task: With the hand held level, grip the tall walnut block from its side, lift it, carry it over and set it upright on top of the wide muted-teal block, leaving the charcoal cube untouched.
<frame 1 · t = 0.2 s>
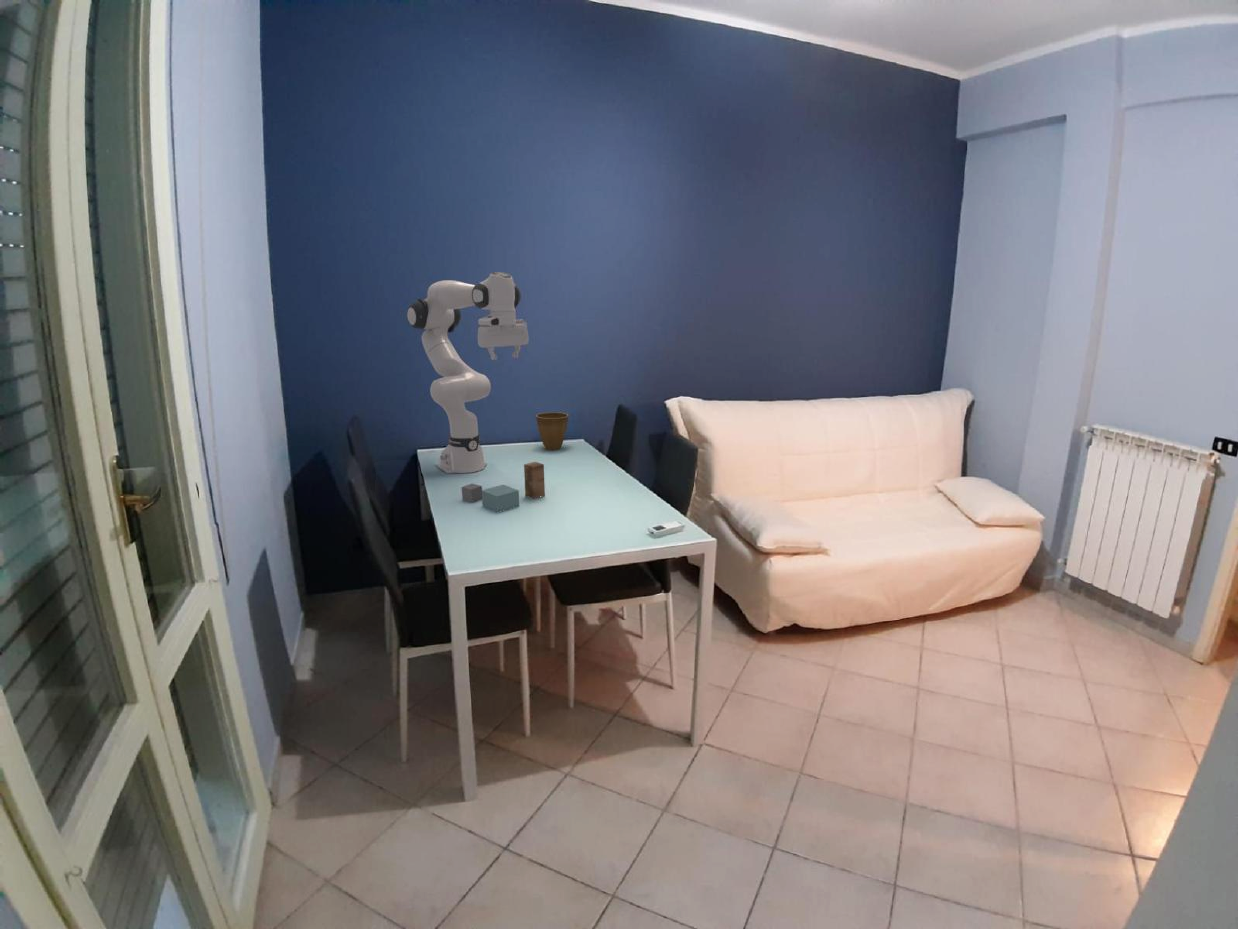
hand: (504, 358, 221), 48 cm above the table, tool pointing down, fingers open, 8 cm apart
plant pot: (553, 448, 288), on the table
teal base block: (501, 506, 212), on the table
charcoal cube: (472, 499, 218), on the table
walnut block: (535, 496, 222), on the table
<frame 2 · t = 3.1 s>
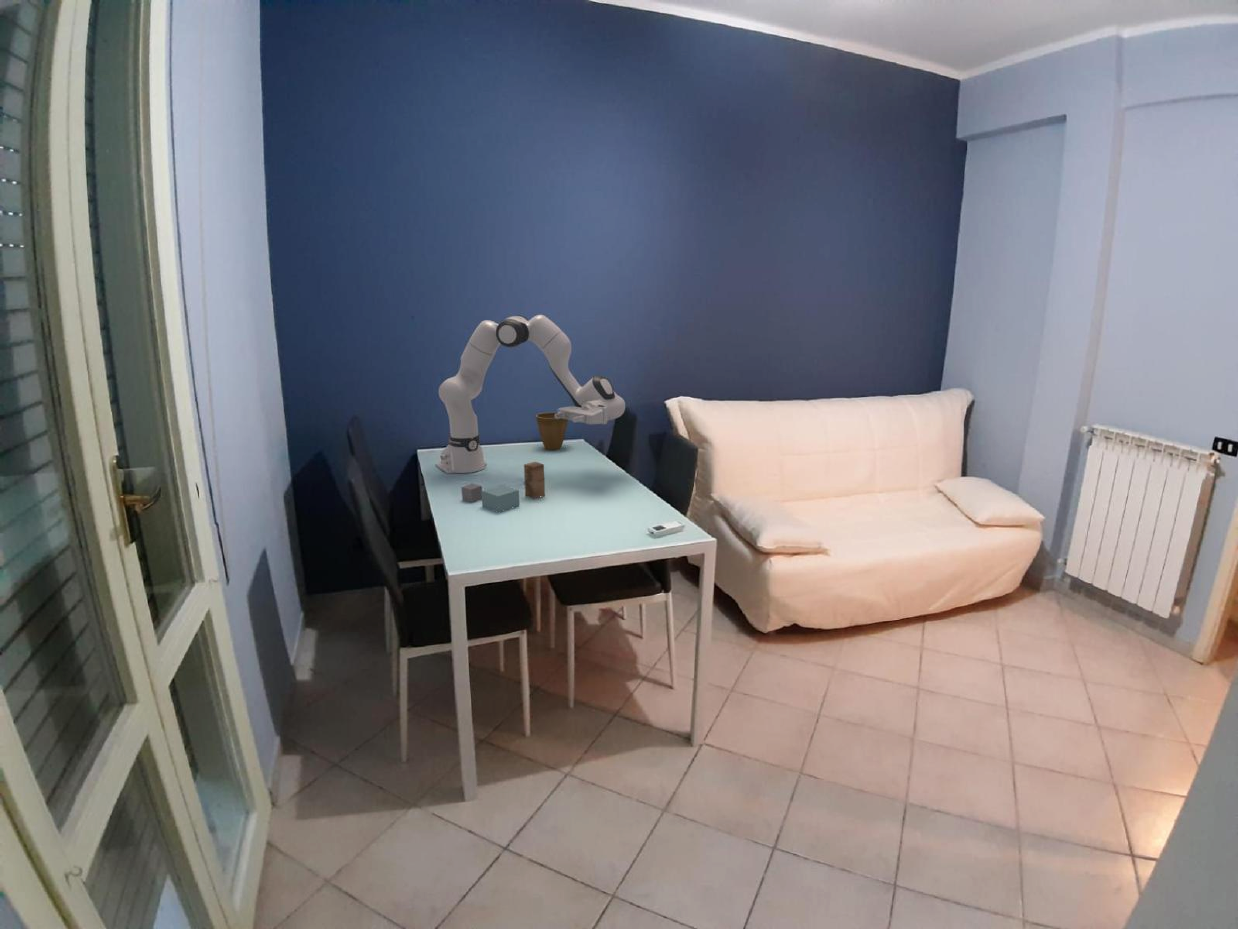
hand: (564, 418, 225), 27 cm above the table, tool horizontal, fingers open, 8 cm apart
nothing on the table moved.
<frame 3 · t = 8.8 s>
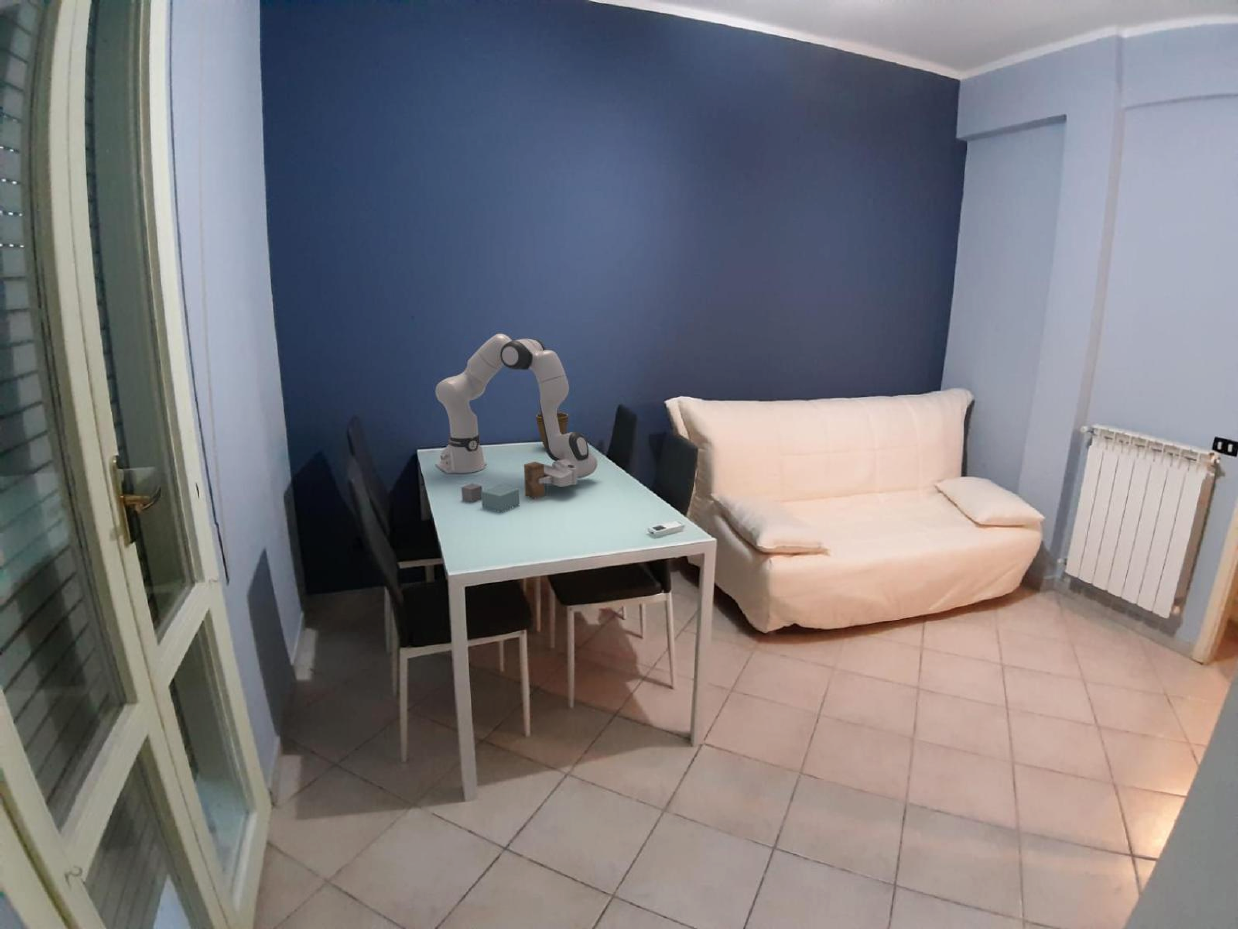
hand: (532, 479, 220), 7 cm above the table, tool horizontal, fingers closed on walnut block, 5 cm apart
walnut block: (535, 495, 222), on the table, touching gripper
everything else where it was.
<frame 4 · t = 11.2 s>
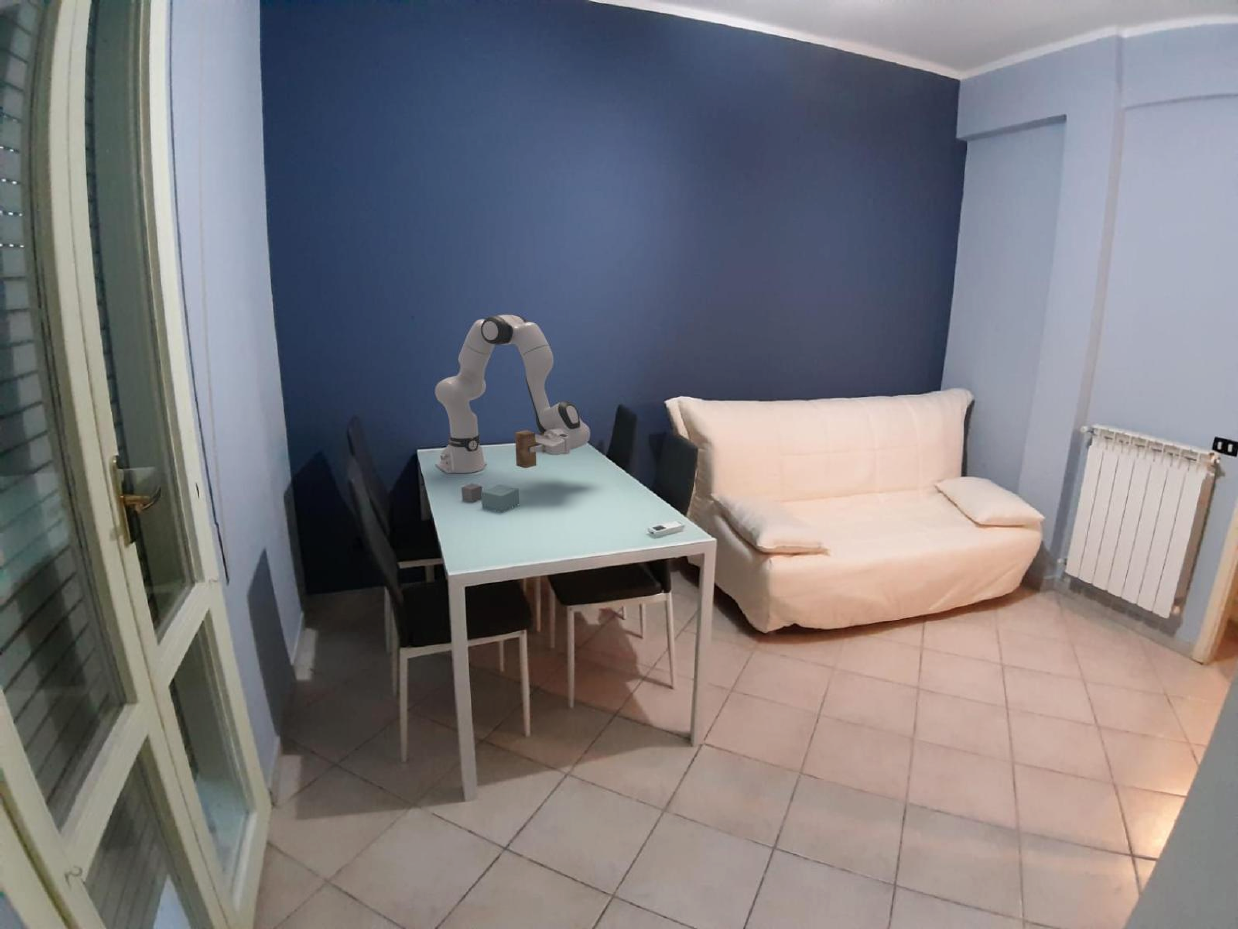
hand: (523, 448, 214), 19 cm above the table, tool horizontal, fingers closed on walnut block, 5 cm apart
walnut block: (526, 465, 216), point 12 cm above the table, touching gripper
everything else where it was.
when the fingers open (14 cm above the table, at t = 13.8 s): walnut block drops 2 cm, resting on teal base block.
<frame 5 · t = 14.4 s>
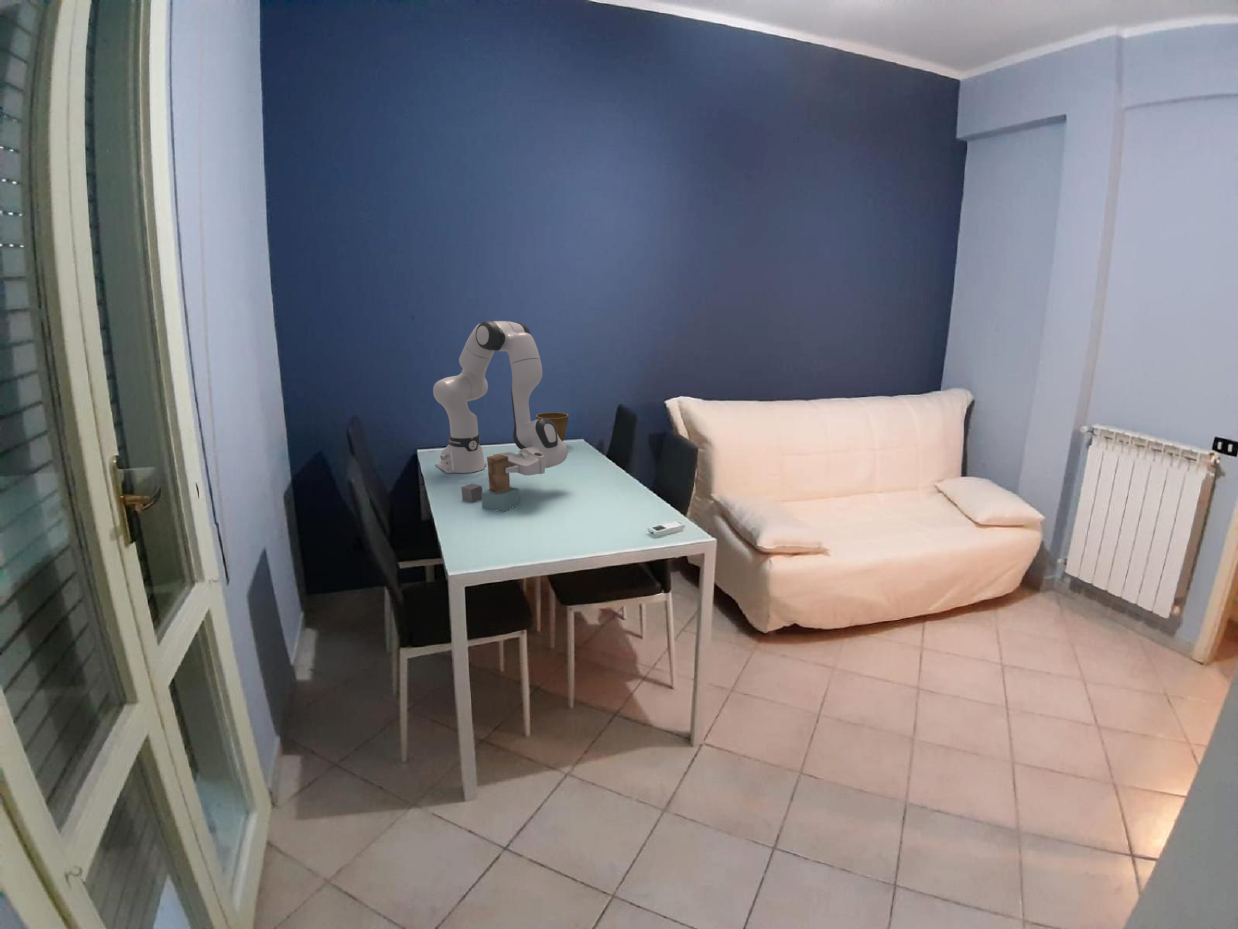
hand: (496, 467, 207), 14 cm above the table, tool horizontal, fingers open, 8 cm apart
teal base block: (501, 506, 212), on the table, touching walnut block
walnut block: (499, 490, 210), point 6 cm above the table, touching teal base block
everything else where it was.
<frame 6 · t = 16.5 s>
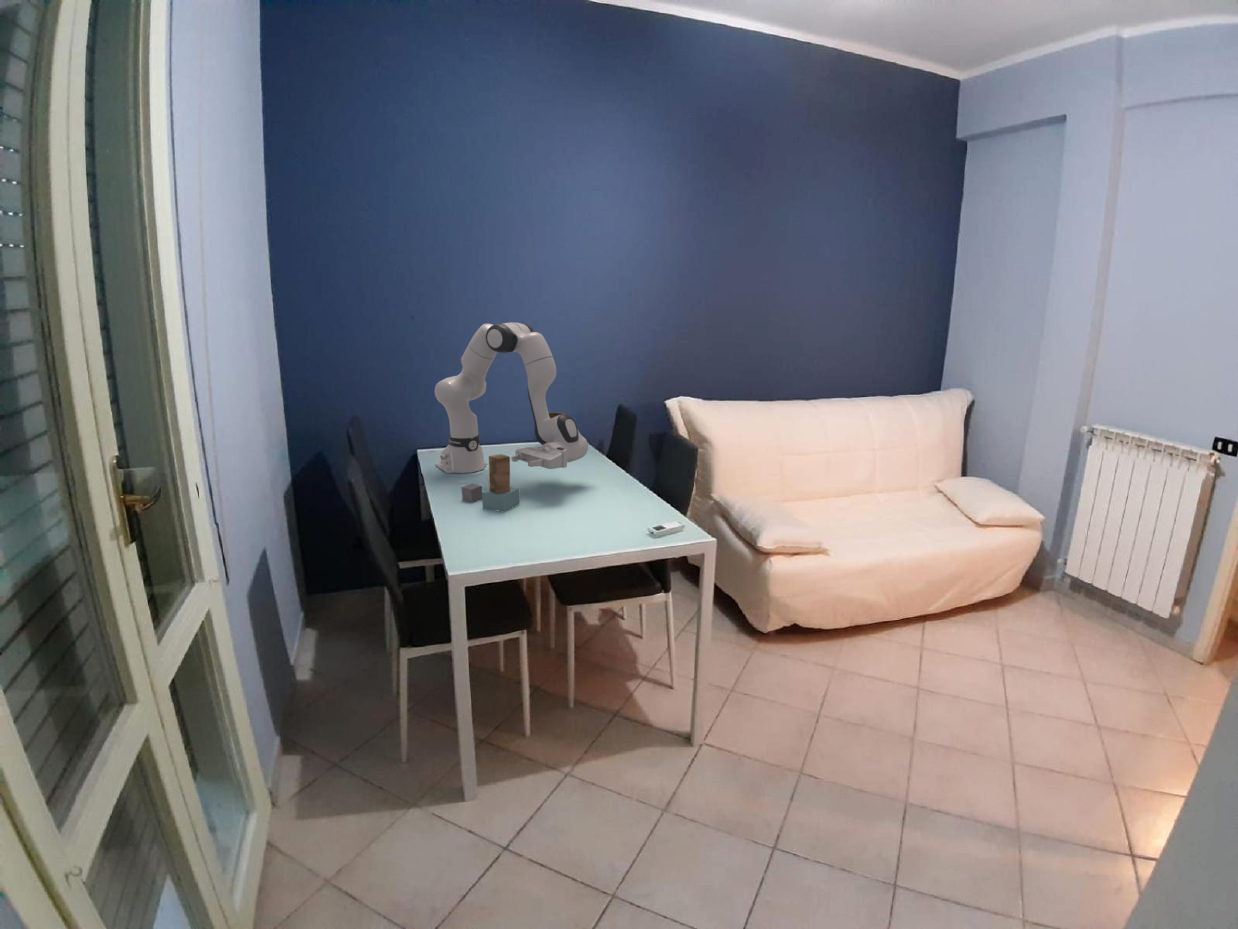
hand: (520, 461, 214), 14 cm above the table, tool horizontal, fingers open, 8 cm apart
teal base block: (501, 506, 212), on the table
walnut block: (499, 490, 210), point 6 cm above the table
everything else where it was.
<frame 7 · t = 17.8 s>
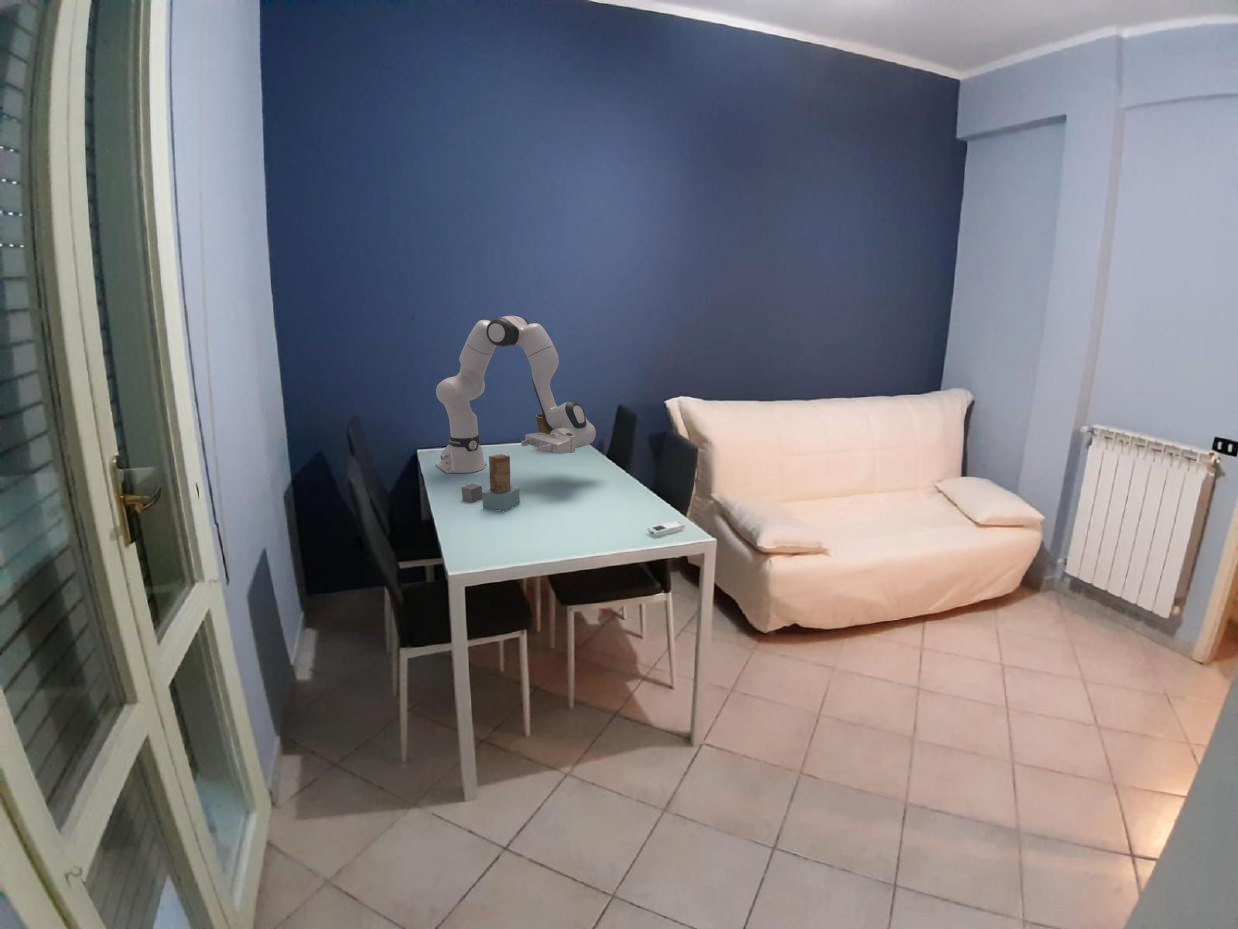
hand: (530, 446, 219), 18 cm above the table, tool horizontal, fingers open, 8 cm apart
teal base block: (501, 506, 212), on the table, touching walnut block
walnut block: (500, 490, 210), point 6 cm above the table, touching teal base block
everything else where it was.
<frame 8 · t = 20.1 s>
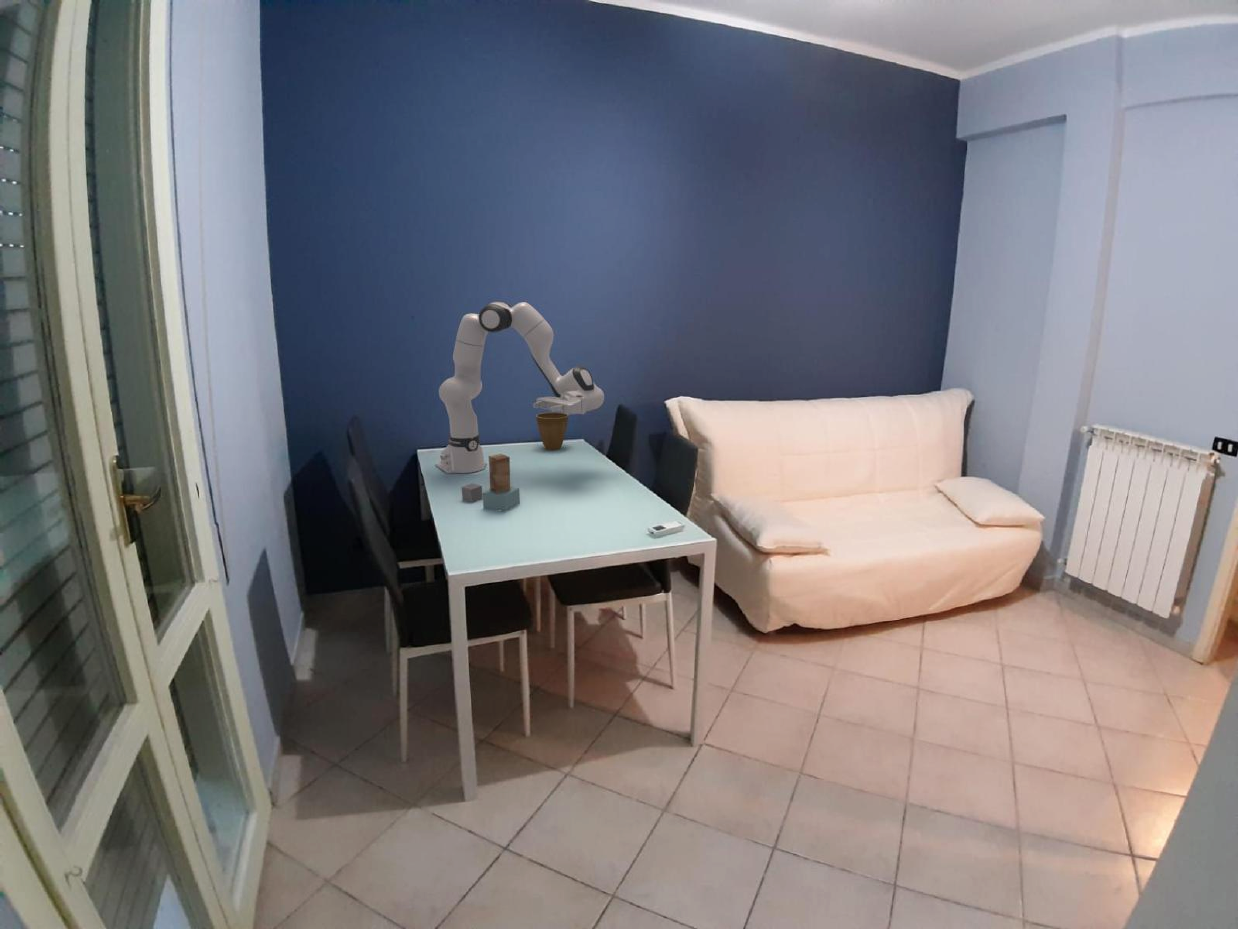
hand: (542, 407, 227), 30 cm above the table, tool horizontal, fingers open, 8 cm apart
nothing on the table moved.
at the end: walnut block 0.3 cm off-centre on the teal base block, point 6.0 cm above the teal base block's base; walnut block tilted 0°; the gripper is holding nothing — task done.
